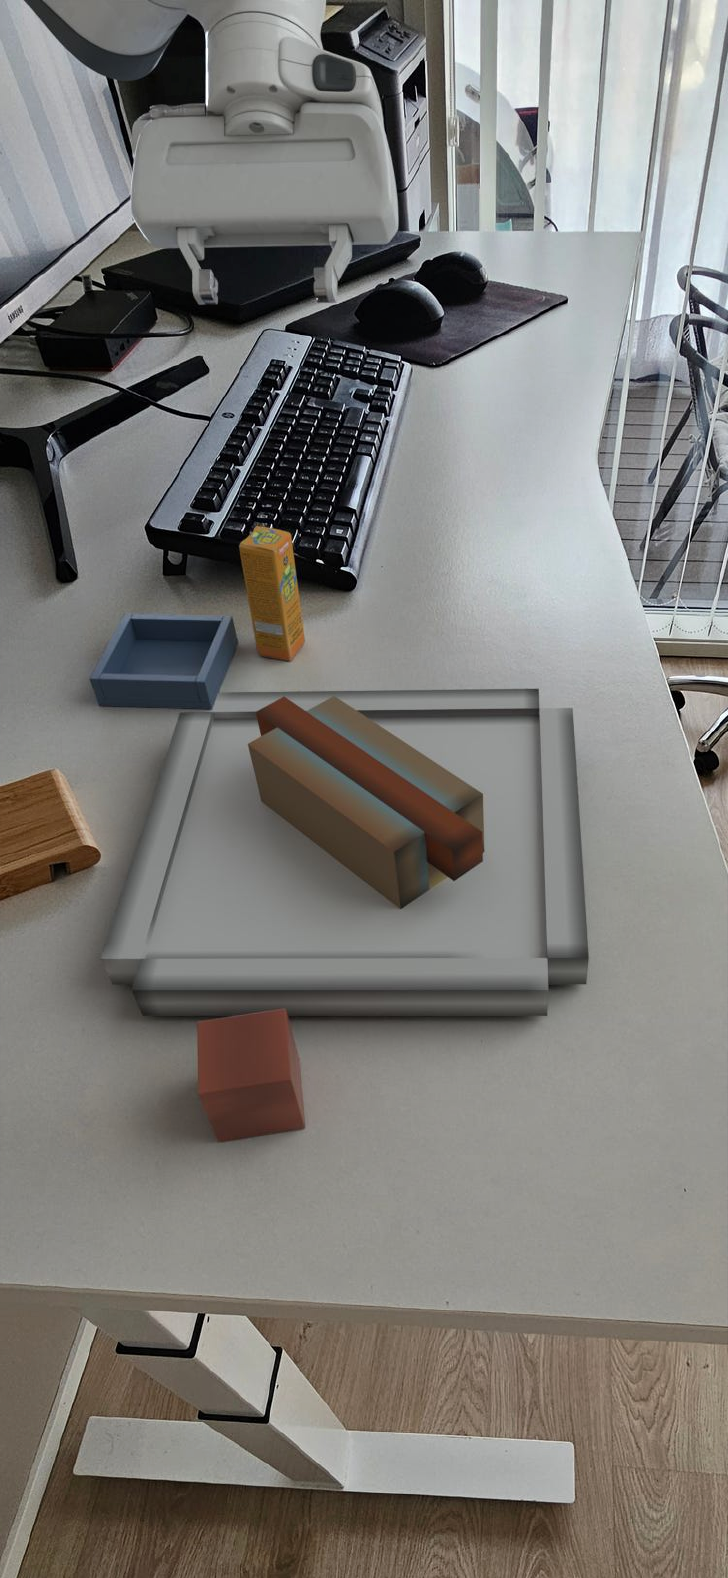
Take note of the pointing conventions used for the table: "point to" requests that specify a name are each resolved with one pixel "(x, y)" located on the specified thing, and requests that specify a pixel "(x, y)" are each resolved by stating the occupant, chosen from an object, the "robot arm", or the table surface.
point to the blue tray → (165, 661)
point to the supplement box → (272, 592)
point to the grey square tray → (358, 858)
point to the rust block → (250, 1075)
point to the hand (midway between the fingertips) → (265, 299)
